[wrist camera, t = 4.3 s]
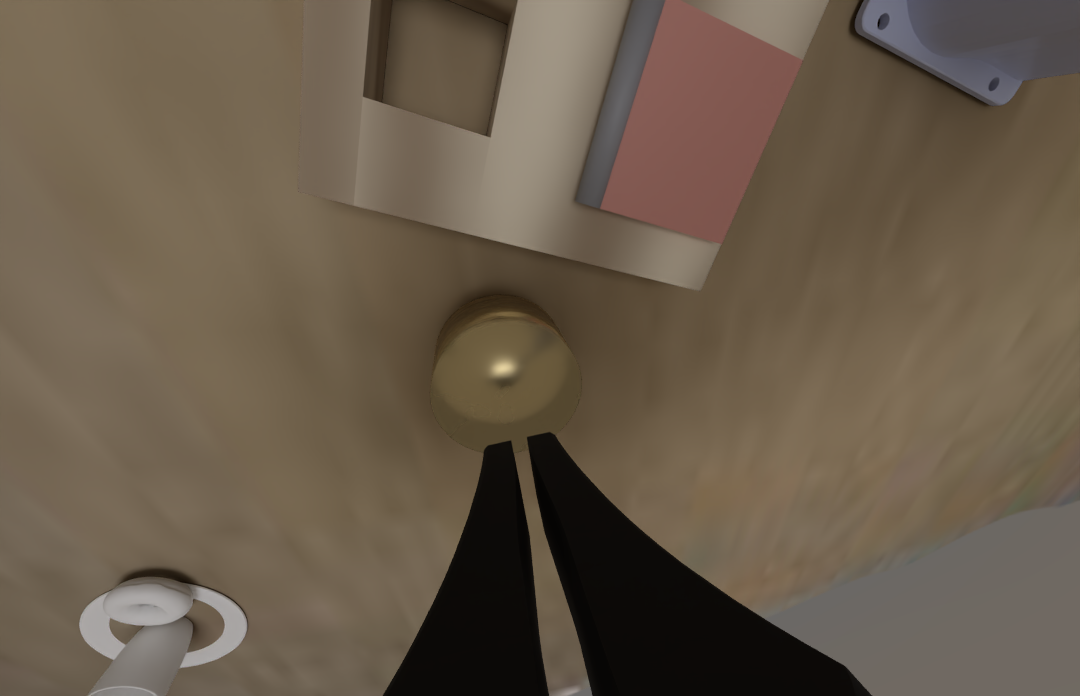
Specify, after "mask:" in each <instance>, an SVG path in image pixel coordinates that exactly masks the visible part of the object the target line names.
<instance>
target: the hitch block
mask: <svg viewBox="0 0 1080 696" xmlns="http://www.w3.org/2000/svg"><path fill="white" fill-rule="evenodd" d="M449 1H451V2H454V3H456V4H459V5H461V6H464V7H466V8H469V9H471V10H473V11H476V12H478V13H481V14H483V15H486V16H488V17H491V18H493V19H495V20H498V21H500V22H503V23H505V24H508V27H507V32H506V37H505V42H504V47H503V52H502V57H501V63H500V68H499V73H498V78H497V83H496V88H495V93H494V99H493V104H492V109H491V114H490V119H489V124H488V129H487V135H486V136H483V135H480V134H477V133H474V132H471V131H468V130H465V129H462V128H459V127H455V126H452V125H449V124H446V123H443V122H440V121H437V120H434V119H431V118H427V117H424V116H421V115H418V114H415V113H412V112H409V111H406V110H403V109H399V108H396V107H393V106H390V105H387V104H384V103H382V96H383V86H384V76H385V66H386V56H387V46H388V36H389V26H390V16H391V6H392V0H304V16H303V48H302V80H301V112H300V144H299V176H298V192H300V193H304V194H308V195H312V196H316V197H320V198H324V199H329V200H333V201H337V202H341V203H345V204H349V205H353V206H357V207H361V208H365V209H369V210H373V211H377V212H381V213H385V214H389V215H393V216H397V217H401V218H405V219H409V220H413V221H417V222H422V223H426V224H430V225H434V226H438V227H442V228H446V229H450V230H454V231H458V232H462V233H466V234H470V235H474V236H478V237H482V238H486V239H490V240H494V241H498V242H502V243H506V244H510V245H515V246H519V247H523V248H527V249H531V250H535V251H539V252H543V253H547V254H551V255H555V256H559V257H563V258H567V259H571V260H575V261H579V262H583V263H587V264H591V265H595V266H599V267H603V268H608V269H612V270H616V271H620V272H624V273H628V274H632V275H636V276H640V277H644V278H648V279H652V280H656V281H660V282H664V283H668V284H672V285H676V286H680V287H684V288H688V289H692V290H696V291H701V289H702V287H703V284H704V282H705V280H706V278H707V275H708V273H709V271H710V269H711V266H712V264H713V262H714V259H715V257H716V255H717V253H718V250H719V248H720V246H721V244H719V243H716V242H712V241H709V240H705V239H702V238H698V237H695V236H692V235H688V234H685V233H681V232H678V231H675V230H671V229H668V228H664V227H661V226H658V225H654V224H651V223H647V222H644V221H640V220H637V219H634V218H630V217H627V216H623V215H620V214H617V213H613V212H610V211H606V210H603V209H599V208H596V207H592V206H589V205H586V204H582V203H579V202H576V201H575V199H576V196H577V192H578V189H579V186H580V182H581V179H582V175H583V172H584V168H585V165H586V161H587V158H588V154H589V151H590V147H591V144H592V140H593V137H594V134H595V130H596V127H597V123H598V120H599V116H600V113H601V109H602V106H603V102H604V99H605V95H606V92H607V88H608V85H609V82H610V78H611V75H612V71H613V68H614V64H615V61H616V57H617V54H618V50H619V47H620V43H621V40H622V36H623V33H624V30H625V26H626V23H627V19H628V16H629V12H630V9H631V5H632V2H633V0H449ZM681 1H683V2H685V3H687V4H689V5H691V6H693V7H695V8H697V9H699V10H701V11H703V12H705V13H707V14H709V15H712V16H714V17H716V18H718V19H720V20H722V21H724V22H726V23H728V24H730V25H732V26H734V27H736V28H738V29H740V30H742V31H744V32H746V33H748V34H750V35H752V36H754V37H756V38H758V39H761V40H763V41H765V42H767V43H769V44H771V45H773V46H775V47H777V48H779V49H781V50H783V51H785V52H787V53H789V54H791V55H793V56H795V57H797V58H799V59H801V60H803V58H804V56H805V54H806V51H807V49H808V47H809V45H810V42H811V40H812V38H813V36H814V33H815V31H816V29H817V26H818V24H819V22H820V20H821V17H822V15H823V13H824V11H825V8H826V6H827V4H828V2H829V0H681Z"/></svg>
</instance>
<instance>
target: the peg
mask: <svg viewBox="0 0 1080 696" xmlns="http://www.w3.org/2000/svg"><path fill="white" fill-rule="evenodd" d="M581 389H582V379H581V372H580V369H579V366H578V363H577V361H576V359H575V357H574V355H573V353H572V351H571V350H570V348H569V346H568V345H567V343H566V341H565V340H564V338H563V336H562V335H561V333H560V331H559V330H558V328H557V326H556V325H555V323H554V322H553V320H552V319H551V317H550V316H549V315H548V314H547V313H546V312H545V311H544V310H543V309H542V308H540V307H539V306H538V305H536V304H534V303H533V302H531V301H528V300H526V299H523V298H520V297H516V296H510V295H493V296H487V297H482V298H479V299H476V300H474V301H471V302H469V303H468V304H466V305H464V306H463V307H461V308H460V309H458V310H457V311H456V312H455V313H454V314H453V315H452V316H451V317H450V318H449V319H448V320H447V321H446V323H445V324H444V326H443V328H442V329H441V331H440V334H439V336H438V339H437V343H436V348H435V356H434V364H433V372H432V380H431V389H430V401H431V406H432V410H433V413H434V415H435V418H436V420H437V421H438V423H439V425H440V426H441V428H442V429H443V430H444V431H445V432H446V433H447V434H448V435H449V436H450V437H451V438H452V439H454V440H455V441H456V442H458V443H459V444H461V445H463V446H465V447H467V448H470V449H472V450H475V451H479V452H482V453H484V449H485V448H486V447H487V446H488V445H492V444H496V443H501V442H506V441H510V440H511V442H512V447H513V452H514V453H517V452H522V451H525V450H529V447H528V442H527V437H528V436H533V435H538V434H542V433H547V432H551V433H553V434H554V435H556V434H557V433H558V432H559V431H560V430H561V429H562V428H563V427H564V426H565V425H566V424H567V423H568V421H569V420H570V419H571V417H572V415H573V414H574V412H575V410H576V408H577V405H578V403H579V399H580V396H581Z"/></svg>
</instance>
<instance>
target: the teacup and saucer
mask: <svg viewBox="0 0 1080 696" xmlns="http://www.w3.org/2000/svg"><path fill="white" fill-rule="evenodd" d="M193 599H197V600H200V601H202V602H205V603H207V604H209V605H210V606H212V607H214V608H215V609H216V610H217V611H218V612H219V613H220V614H221V615H222V617H223V619H224V622H225V629H224V632H223V634H222V636H221V637H220V638H219V639H218V640H217V641H216V642H214V643H213V644H211V645H210V646H208V647H206V648H203V649H200V650H197V651H194V652H190V653H186V652H187V650H188V647H189V644H190V641H191V638H192V633H193V624H192V622H191V621H190V620H189V619H187V618H185V617H183V616H184V615H185V614H186V613H187V612H188V611H189V610H190V608H191V606H192V604H193V603H192V602H193ZM110 618H112V619H114V620H117V621H119V622H122V623H127V624H132V625H145V626H144V627H143V628H142V629H141V630H140V631H139V632H138V633H137V634H136V635H135V636H134V637H133V638H132V639H131V640H130V641H129V642H128V643H127V645H124V644H123V643H121V642H120V641H119V640H117V639H116V638H115V637H114V636H113V634H112V633H111V631H110V628H109V620H110ZM79 626H80V631H81V634H82V636H83V638H84V639H85V641H86V642H87V643H88V644H89V645H90V646H91V647H92V648H93V649H95V650H96V651H98V652H99V653H101V654H103V655H104V656H106V657H109V658H111V659H113V660H114V661H113V662H112V663H111V665H110V666H109V667H108V669H107V670H106V671H105V672H104V674H103V675H102V676H101V678H100V679H99V680H98V682H97V683H96V684H95V686H94V687H93V688H92V690H91V691H90V692H89V694H88V695H87V696H166V694H167V692H168V690H169V688H170V686H171V684H172V682H173V680H174V678H175V676H176V674H177V672H178V670H179V668H183V667H190V666H195V665H200V664H204V663H207V662H210V661H213V660H216V659H218V658H220V657H222V656H224V655H226V654H228V653H229V652H231V651H232V650H234V649H235V648H236V647H237V646H238V645H239V644H240V643H241V642H242V640H243V639H244V637H245V635H246V632H247V619H246V616H245V614H244V612H243V611H242V609H241V608H240V607H239V606H238V605H237V604H236V603H235V602H233V601H232V600H231V599H229V598H228V597H226V596H224V595H222V594H220V593H218V592H216V591H214V590H211V589H208V588H205V587H201V586H197V585H193V584H187V583H181V582H178V581H176V580H172V579H168V578H162V577H141V578H135V579H131V580H128V581H125V582H123V583H121V584H119V585H118V586H116V587H115V588H114V589H113V590H111V591H109V592H107V593H104V594H103V595H101V596H99V597H97V598H96V599H95V600H93V601H92V602H91V603H90V604H89V605H88V606H87V607H86V608H85V610H84V611H83V613H82V615H81V618H80V623H79Z"/></svg>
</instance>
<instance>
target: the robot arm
mask: <svg viewBox="0 0 1080 696" xmlns="http://www.w3.org/2000/svg"><path fill="white" fill-rule="evenodd" d="M878 19H880V24H879V27H878V26H877V23H878ZM855 29H856V32H857V33H858V34H859V35H861V36H863V37H865V38H867V39H869V40H870V41H872V42H874V43H876V44H878V45H880V46H882V47H883V48H885V49H887V50H889V51H891V52H893V53H894V54H896V55H898V56H900V57H902V58H904V59H906V60H907V61H909V62H911V63H913V64H915V65H917V66H918V67H920V68H922V69H924V70H926V71H928V72H929V73H931V74H933V75H935V76H937V77H939V78H941V79H942V80H944V81H946V82H948V83H950V84H952V85H953V86H955V87H957V88H959V89H961V90H963V91H965V92H966V93H968V94H970V95H972V96H974V97H976V98H977V99H979V100H981V101H983V102H985V103H987V104H989V105H990V106H999V105H1004V104H1006V103H1007V102H1008V101H1010V100H1011V99H1012V97H1013V96H1014V95H1015V93H1016V91H1017V90H1018V88H1019V87H1020V85H1021V83H1022V82H1023V81H1025V80H1032V79H1039V78H1046V77H1053V76H1060V75H1067V74H1074V73H1080V0H864V1H863V3H862V5H861V7H860V9H859V11H858V14H857V16H856V19H855ZM527 442H528V447H529V453H530V459H531V465H532V471H533V477H534V483H535V489H536V495H537V499H538V504H539V508H540V513H541V518H542V522H543V527H544V531H545V535H546V538H547V541H548V544H549V547H550V550H551V553H552V556H553V559H554V563H555V566H556V569H557V572H558V575H559V578H560V581H561V584H562V587H563V590H564V593H565V596H566V599H567V603H568V606H569V609H570V612H571V615H572V618H573V621H574V624H575V628H576V631H577V635H578V638H579V642H580V645H581V649H582V654H583V658H584V662H585V666H586V670H587V674H588V679H589V683H590V687H591V691H592V695H593V696H872V695H871V694H870V693H869V692H868V691H867V690H866V689H865V688H864V687H863V686H862V684H861V683H860V682H859V681H858V680H857V679H856V678H855V677H854V675H853V674H852V673H851V672H850V671H849V670H848V669H847V668H846V667H845V666H844V665H842V664H840V663H839V662H836V661H835V660H833V659H832V658H830V657H828V656H826V655H824V654H823V653H821V652H819V651H818V650H816V649H814V648H812V647H811V646H809V645H807V644H805V643H804V642H801V641H800V640H798V639H797V638H795V637H793V636H792V635H790V634H788V633H787V632H785V631H783V630H782V629H780V628H778V627H777V626H775V625H773V624H772V623H770V622H768V621H767V620H765V619H764V618H762V617H761V616H759V615H757V614H756V613H754V612H753V611H751V610H750V609H748V608H747V607H745V606H743V605H742V604H740V603H739V602H737V601H736V600H734V599H732V598H731V597H730V596H728V595H727V594H725V593H724V592H722V591H721V590H720V589H718V588H717V587H715V586H714V585H712V584H711V583H710V582H708V581H707V580H705V579H704V578H702V577H701V576H700V575H698V574H697V573H695V572H694V571H693V570H691V569H690V568H688V567H687V566H685V565H684V564H683V563H681V562H680V561H679V560H678V559H676V558H675V557H674V556H672V555H671V554H670V553H669V552H667V551H666V550H665V549H663V548H662V547H661V546H660V545H658V544H657V543H656V542H655V541H654V540H652V539H651V538H650V537H649V536H648V535H646V534H645V533H644V532H643V531H642V530H641V529H639V528H638V527H637V526H636V525H635V524H634V523H633V522H632V521H630V520H629V519H628V518H627V517H626V516H625V515H624V514H623V513H622V512H621V511H620V510H619V509H618V508H617V507H616V506H615V505H614V504H612V503H611V502H610V501H609V500H608V499H607V498H606V497H605V496H604V494H603V493H602V492H601V491H600V490H599V489H598V488H597V487H596V486H595V485H594V484H593V483H592V482H591V481H590V479H589V478H588V477H587V476H586V475H585V474H584V473H583V472H582V471H581V469H580V468H579V467H578V466H577V465H576V463H575V462H574V461H573V460H572V459H571V457H570V456H569V455H568V453H567V452H566V451H565V450H564V448H563V447H562V445H561V444H560V442H559V441H558V439H557V438H556V436H555V435H554V434H553V433H551V432H547V433H542V434H538V435H533V436H528V437H527ZM383 696H549V693H548V687H547V682H546V676H545V670H544V664H543V658H542V652H541V644H540V637H539V628H538V617H537V607H536V597H535V586H534V576H533V565H532V555H531V545H530V536H529V530H528V525H527V520H526V515H525V509H524V504H523V499H522V494H521V488H520V483H519V478H518V473H517V468H516V462H515V457H514V452H513V447H512V442H511V440H510V441H506V442H501V443H496V444H492V445H488V446H487V447H486V448H485V449H484V456H483V462H482V468H481V473H480V477H479V481H478V485H477V489H476V493H475V496H474V499H473V503H472V506H471V509H470V513H469V516H468V519H467V522H466V525H465V527H464V530H463V533H462V535H461V538H460V541H459V544H458V546H457V549H456V552H455V554H454V557H453V559H452V562H451V564H450V566H449V569H448V571H447V573H446V576H445V578H444V580H443V582H442V585H441V587H440V589H439V591H438V593H437V596H436V598H435V600H434V602H433V604H432V606H431V608H430V610H429V612H428V614H427V616H426V618H425V620H424V622H423V624H422V626H421V628H420V630H419V632H418V634H417V636H416V638H415V640H414V642H413V643H412V645H411V647H410V649H409V651H408V653H407V655H406V656H405V658H404V660H403V662H402V664H401V665H400V667H399V669H398V671H397V672H396V674H395V676H394V677H393V679H392V681H391V683H390V684H389V686H388V688H387V689H386V691H385V693H384V695H383Z"/></svg>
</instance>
